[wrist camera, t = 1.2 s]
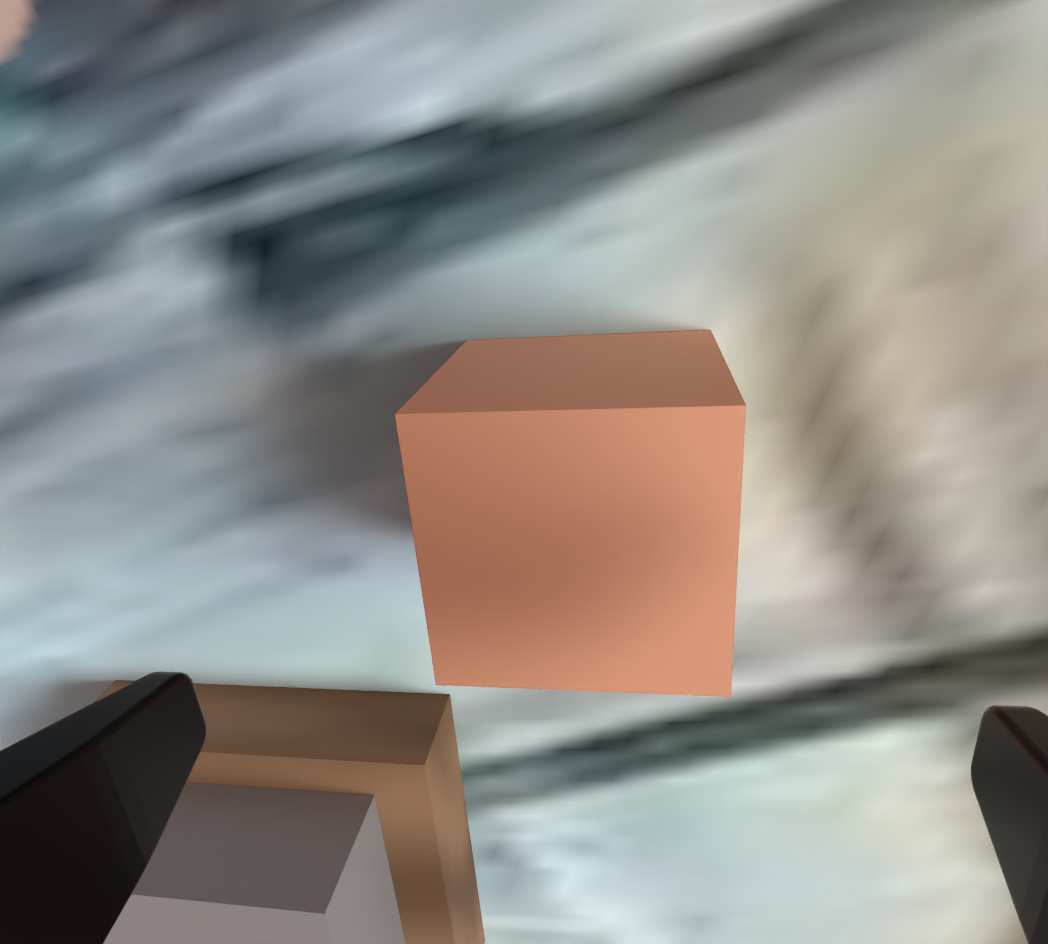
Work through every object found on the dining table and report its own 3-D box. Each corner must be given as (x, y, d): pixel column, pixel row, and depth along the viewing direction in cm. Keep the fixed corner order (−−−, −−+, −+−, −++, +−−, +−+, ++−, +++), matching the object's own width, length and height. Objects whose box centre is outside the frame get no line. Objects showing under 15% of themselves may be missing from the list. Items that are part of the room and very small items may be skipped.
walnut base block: (487, 924, 23) (468, 1025, 20) (211, 897, 25) (158, 987, 22) (454, 681, 19) (424, 765, 16) (129, 668, 21) (52, 742, 18)
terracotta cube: (703, 546, 16) (730, 696, 11) (489, 545, 17) (436, 684, 12) (710, 328, 14) (745, 405, 10) (468, 338, 15) (394, 414, 10)
